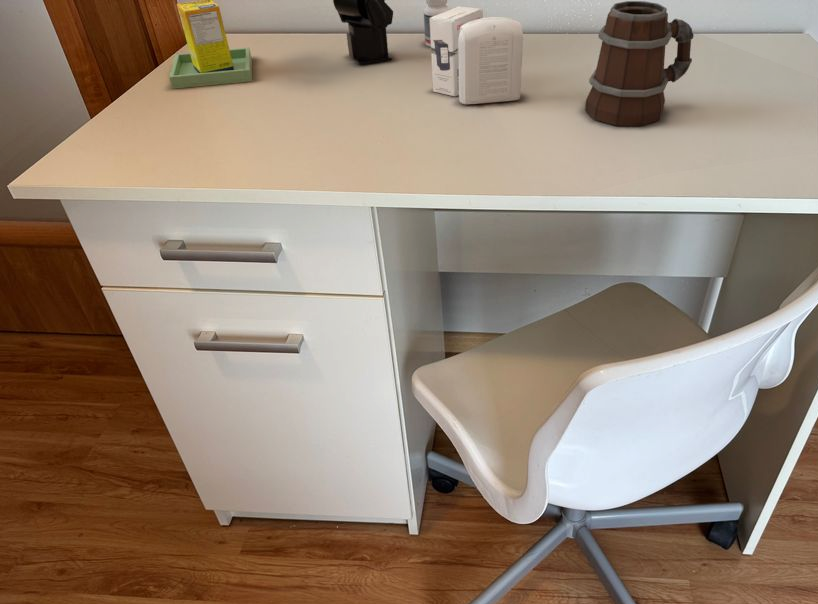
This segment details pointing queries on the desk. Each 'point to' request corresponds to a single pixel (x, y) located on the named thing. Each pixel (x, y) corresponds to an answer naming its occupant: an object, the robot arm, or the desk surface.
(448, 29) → the ink box
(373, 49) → the robot arm
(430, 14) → the pill bottle
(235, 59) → the green tray
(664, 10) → the mug
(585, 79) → the desk surface
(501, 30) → the white rounded box
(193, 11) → the supplement box
